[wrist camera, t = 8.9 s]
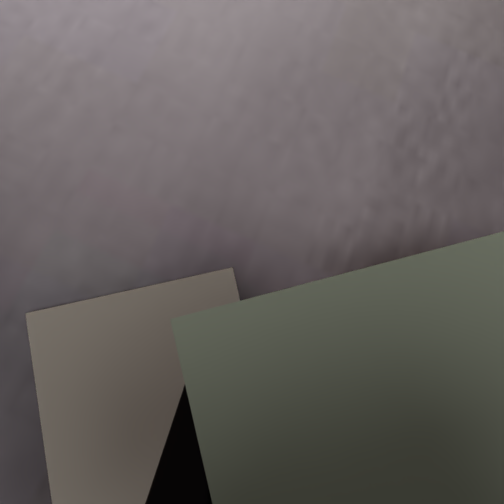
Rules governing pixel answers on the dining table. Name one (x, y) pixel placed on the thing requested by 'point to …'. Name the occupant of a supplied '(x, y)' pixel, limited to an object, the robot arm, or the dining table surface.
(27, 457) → the dining table surface
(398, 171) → the dining table surface
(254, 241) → the dining table surface
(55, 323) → the tile
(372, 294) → the box
